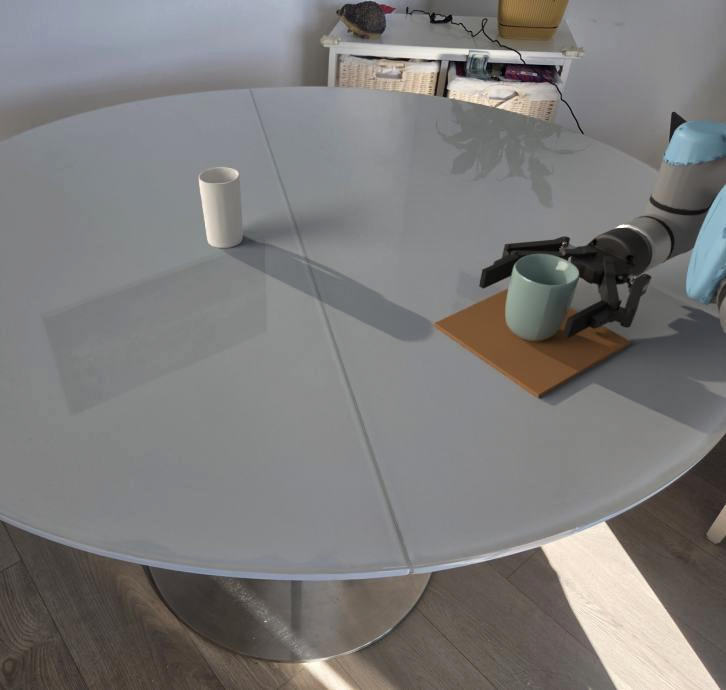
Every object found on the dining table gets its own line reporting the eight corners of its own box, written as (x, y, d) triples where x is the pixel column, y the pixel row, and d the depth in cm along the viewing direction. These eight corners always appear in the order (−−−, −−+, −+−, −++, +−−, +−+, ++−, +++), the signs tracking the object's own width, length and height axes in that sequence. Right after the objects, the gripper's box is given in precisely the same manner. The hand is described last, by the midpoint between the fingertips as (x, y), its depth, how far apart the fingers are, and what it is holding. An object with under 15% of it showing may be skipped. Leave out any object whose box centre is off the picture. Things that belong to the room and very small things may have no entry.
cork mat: (629, 344, 85) (631, 341, 84) (537, 398, 78) (539, 394, 77) (521, 284, 97) (522, 281, 97) (433, 326, 90) (434, 322, 90)
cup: (572, 334, 86) (592, 271, 80) (535, 357, 83) (553, 293, 77) (525, 308, 91) (540, 247, 85) (488, 328, 88) (501, 266, 82)
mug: (244, 248, 110) (239, 182, 102) (205, 250, 110) (197, 185, 102) (244, 220, 117) (239, 158, 110) (208, 222, 117) (200, 160, 110)
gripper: (703, 315, 84) (600, 376, 76) (547, 240, 101) (448, 283, 93) (726, 266, 79) (619, 326, 71) (558, 196, 96) (456, 238, 88)
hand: (522, 302), depth 82 cm, fingers open, 13 cm apart
